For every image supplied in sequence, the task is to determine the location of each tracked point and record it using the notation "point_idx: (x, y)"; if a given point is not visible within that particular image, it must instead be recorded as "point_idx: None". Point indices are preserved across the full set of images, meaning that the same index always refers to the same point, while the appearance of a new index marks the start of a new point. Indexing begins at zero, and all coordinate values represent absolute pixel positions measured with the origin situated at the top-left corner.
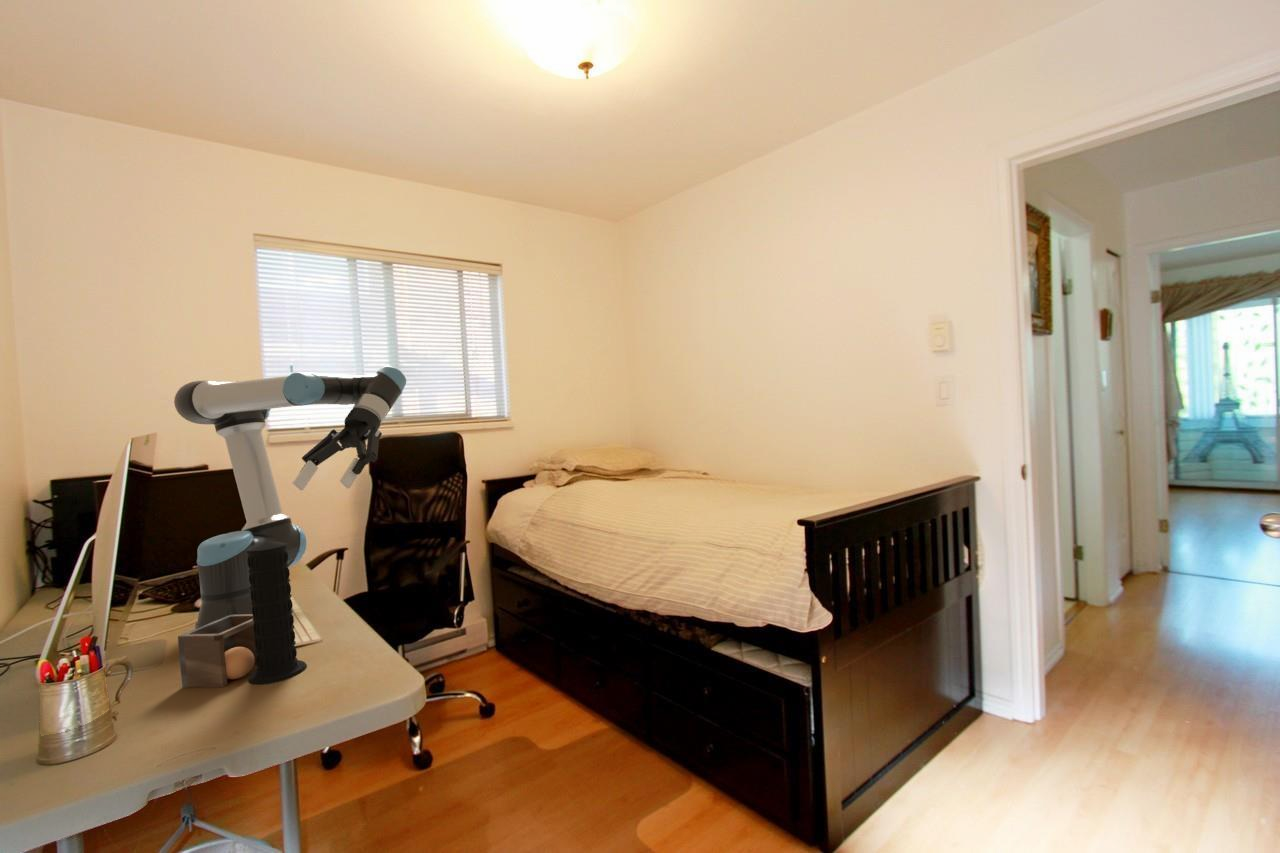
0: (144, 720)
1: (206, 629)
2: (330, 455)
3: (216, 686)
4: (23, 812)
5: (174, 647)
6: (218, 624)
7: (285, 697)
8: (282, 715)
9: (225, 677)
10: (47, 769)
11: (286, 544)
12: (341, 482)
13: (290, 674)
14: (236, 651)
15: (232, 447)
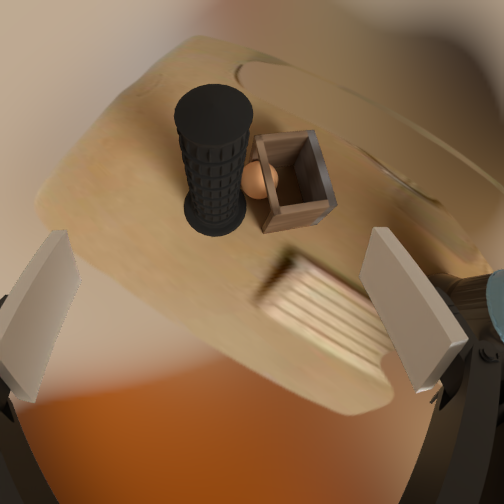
0: (255, 108)
1: (314, 162)
2: (407, 490)
3: None
4: (199, 37)
5: (435, 246)
6: (320, 180)
7: (148, 163)
8: (121, 139)
9: None
10: (245, 58)
11: (180, 132)
12: (67, 240)
13: (186, 198)
14: (252, 168)
15: None
